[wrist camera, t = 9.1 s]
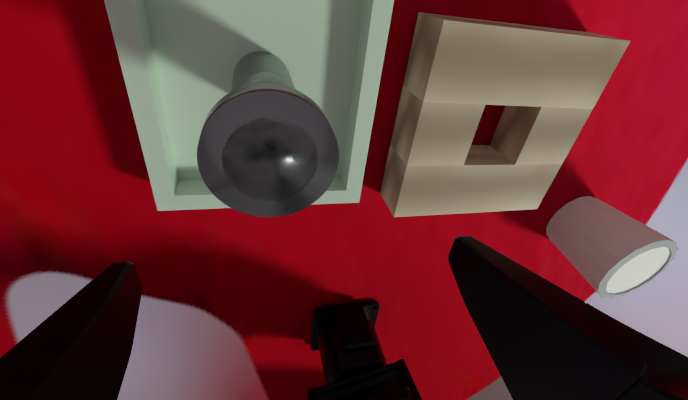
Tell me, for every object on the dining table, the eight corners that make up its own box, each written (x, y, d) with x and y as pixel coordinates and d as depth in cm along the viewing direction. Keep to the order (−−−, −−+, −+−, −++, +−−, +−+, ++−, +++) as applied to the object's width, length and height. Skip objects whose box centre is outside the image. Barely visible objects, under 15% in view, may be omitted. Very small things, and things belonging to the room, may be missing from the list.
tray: (349, 182, 24) (359, 202, 22) (166, 187, 21) (157, 210, 19) (386, -65, 16) (406, -68, 14) (98, -116, 13) (71, -130, 11)
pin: (302, 121, 19) (332, 213, 12) (222, 119, 18) (206, 220, 11) (305, 39, 17) (346, 96, 10) (214, 32, 16) (185, 90, 9)
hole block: (512, 188, 28) (536, 209, 26) (380, 192, 25) (393, 217, 23) (587, 32, 21) (630, 41, 19) (418, 12, 18) (443, 19, 16)
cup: (547, 202, 30) (614, 257, 25) (614, 181, 31) (694, 230, 25) (534, 252, 34) (589, 308, 29) (593, 233, 35) (658, 284, 29)
